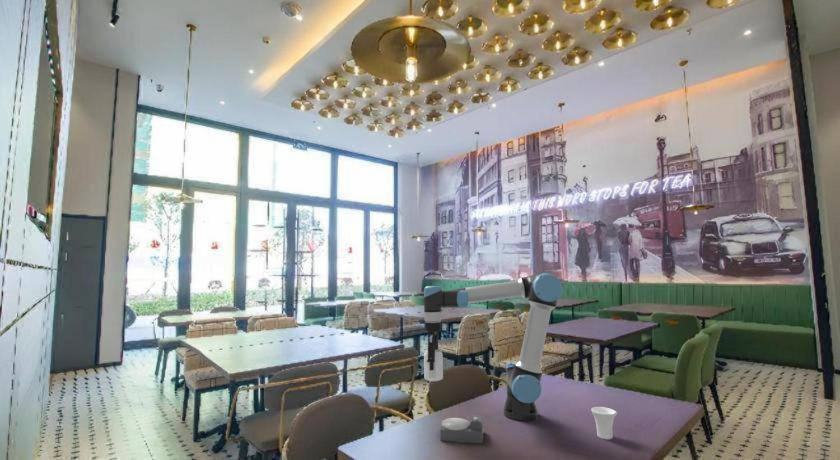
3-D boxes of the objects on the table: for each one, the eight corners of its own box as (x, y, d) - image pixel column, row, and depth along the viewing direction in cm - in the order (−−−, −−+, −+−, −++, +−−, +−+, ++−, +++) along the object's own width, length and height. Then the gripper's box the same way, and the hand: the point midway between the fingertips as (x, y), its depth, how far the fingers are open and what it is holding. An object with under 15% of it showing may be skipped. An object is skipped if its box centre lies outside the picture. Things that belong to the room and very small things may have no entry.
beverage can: (441, 382, 165) (441, 352, 166) (422, 381, 166) (422, 352, 168) (444, 377, 172) (443, 349, 174) (426, 376, 174) (425, 348, 175)
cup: (617, 443, 147) (615, 415, 148) (590, 437, 152) (589, 411, 153) (619, 435, 154) (618, 408, 155) (594, 430, 159) (592, 404, 160)
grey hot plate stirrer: (483, 431, 158) (482, 411, 159) (482, 443, 147) (482, 421, 148) (443, 429, 161) (443, 409, 162) (440, 440, 150) (440, 419, 151)
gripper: (428, 318, 183) (429, 369, 180) (420, 324, 163) (420, 381, 160) (444, 318, 181) (445, 369, 179) (438, 324, 161) (439, 382, 159)
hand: (433, 375), depth 169 cm, fingers closed on beverage can, 8 cm apart
